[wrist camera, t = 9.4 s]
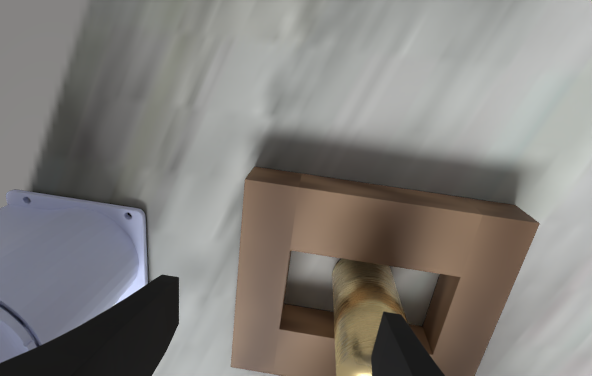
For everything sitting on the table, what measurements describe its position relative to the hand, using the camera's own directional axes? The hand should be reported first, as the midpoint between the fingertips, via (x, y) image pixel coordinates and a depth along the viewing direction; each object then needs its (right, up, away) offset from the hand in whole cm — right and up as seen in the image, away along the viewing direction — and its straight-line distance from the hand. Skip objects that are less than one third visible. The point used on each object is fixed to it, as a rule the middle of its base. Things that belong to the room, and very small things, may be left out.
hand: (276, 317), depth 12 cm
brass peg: (+5, -2, +11) cm, 12 cm away
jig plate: (+5, -2, +11) cm, 13 cm away
